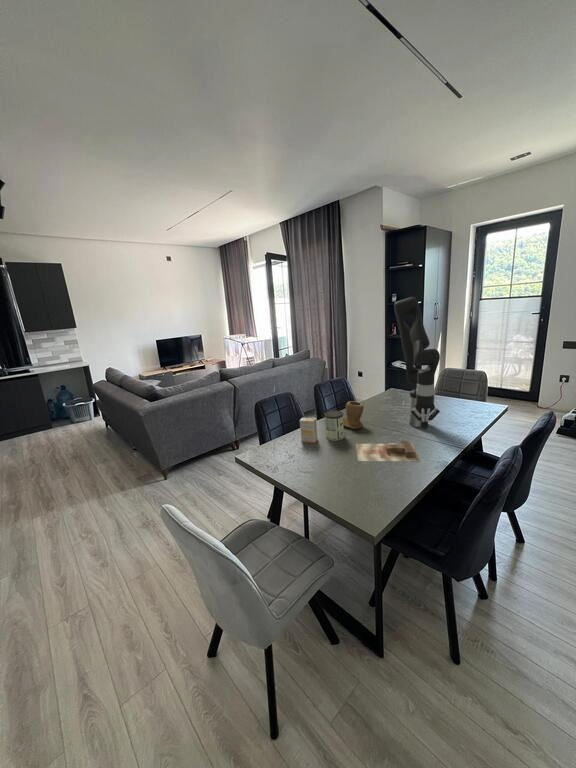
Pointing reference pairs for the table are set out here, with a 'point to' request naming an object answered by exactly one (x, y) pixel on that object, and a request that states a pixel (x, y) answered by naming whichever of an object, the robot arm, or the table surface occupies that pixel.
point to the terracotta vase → (353, 415)
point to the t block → (401, 449)
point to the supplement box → (308, 430)
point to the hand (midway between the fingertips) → (424, 428)
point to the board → (380, 453)
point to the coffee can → (334, 425)
